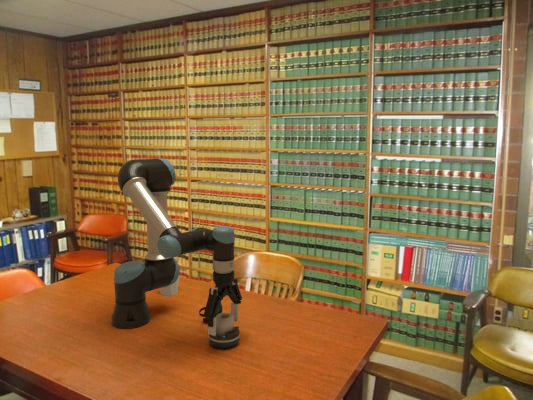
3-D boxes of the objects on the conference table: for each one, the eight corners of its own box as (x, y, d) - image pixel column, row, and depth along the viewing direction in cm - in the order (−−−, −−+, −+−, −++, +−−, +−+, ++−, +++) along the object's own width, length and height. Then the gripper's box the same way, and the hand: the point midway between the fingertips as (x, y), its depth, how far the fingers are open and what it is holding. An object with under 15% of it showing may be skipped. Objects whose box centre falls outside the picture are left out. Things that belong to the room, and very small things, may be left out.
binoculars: (201, 292, 176) (224, 291, 174) (204, 316, 178) (226, 316, 175) (193, 299, 168) (217, 299, 166) (196, 325, 169) (220, 325, 167)
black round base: (202, 344, 151) (202, 330, 150) (220, 332, 161) (220, 319, 160) (228, 352, 146) (228, 337, 145) (245, 339, 155) (245, 325, 154)
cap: (212, 333, 151) (212, 317, 150) (222, 326, 157) (222, 310, 156) (227, 337, 148) (227, 321, 147) (237, 330, 154) (237, 314, 153)
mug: (171, 297, 197) (171, 276, 195) (156, 294, 200) (155, 274, 198) (185, 288, 208) (185, 269, 206) (170, 286, 211) (170, 267, 209)
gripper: (210, 282, 137) (210, 344, 140) (251, 263, 158) (250, 317, 161) (192, 278, 141) (193, 338, 144) (234, 260, 162) (234, 312, 165)
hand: (223, 327), depth 153 cm, fingers open, 13 cm apart
